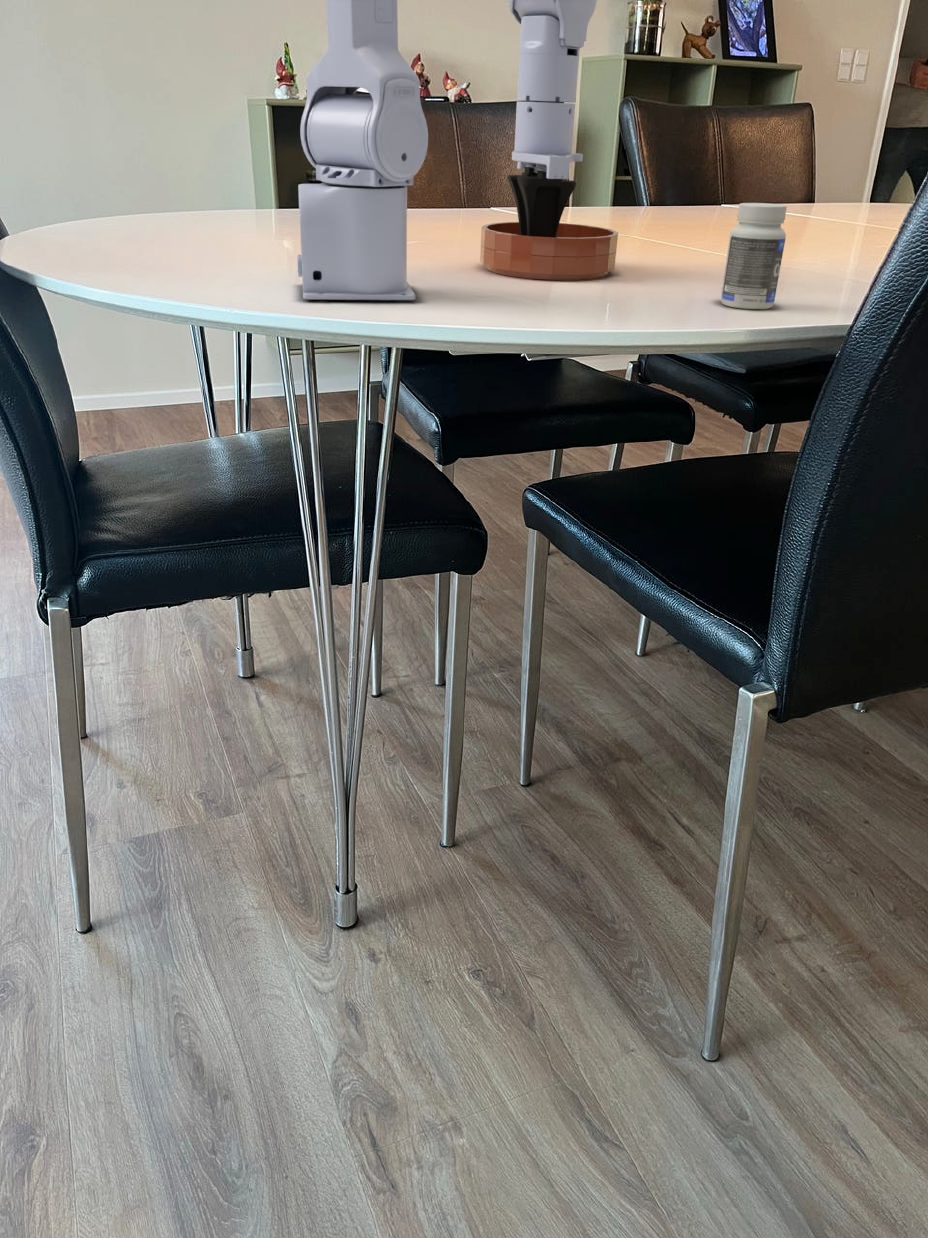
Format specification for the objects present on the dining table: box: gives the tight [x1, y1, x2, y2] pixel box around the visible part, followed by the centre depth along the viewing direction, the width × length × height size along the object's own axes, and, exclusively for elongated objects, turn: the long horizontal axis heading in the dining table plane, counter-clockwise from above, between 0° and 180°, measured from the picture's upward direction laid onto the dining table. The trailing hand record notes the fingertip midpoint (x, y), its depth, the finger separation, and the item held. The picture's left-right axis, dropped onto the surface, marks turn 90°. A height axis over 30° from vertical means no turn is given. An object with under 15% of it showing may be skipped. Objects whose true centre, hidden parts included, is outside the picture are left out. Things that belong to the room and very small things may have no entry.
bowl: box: [479, 221, 619, 281], centre depth 100 cm, size 14×14×4 cm
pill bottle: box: [720, 202, 787, 310], centre depth 85 cm, size 5×5×8 cm
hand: (536, 250), depth 100 cm, fingers closed on eraser, 3 cm apart
